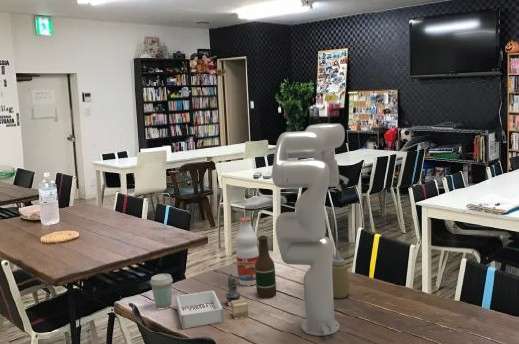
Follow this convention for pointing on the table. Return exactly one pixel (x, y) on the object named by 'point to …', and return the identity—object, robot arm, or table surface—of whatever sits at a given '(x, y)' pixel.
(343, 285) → the squeeze bottle
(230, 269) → the table surface
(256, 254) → the fruit juice
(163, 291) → the coffee cup
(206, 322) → the tote
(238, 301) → the beech cube
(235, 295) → the chess piece
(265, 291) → the beer bottle
